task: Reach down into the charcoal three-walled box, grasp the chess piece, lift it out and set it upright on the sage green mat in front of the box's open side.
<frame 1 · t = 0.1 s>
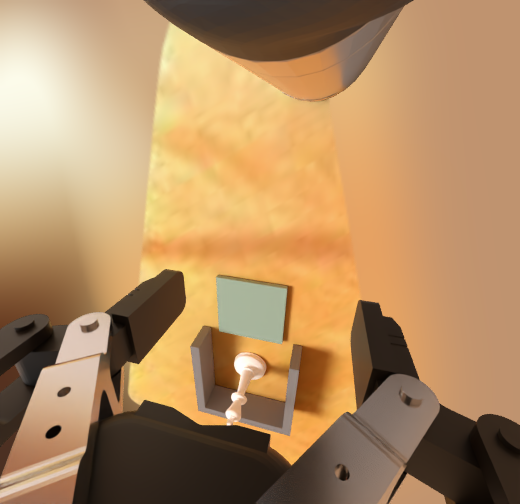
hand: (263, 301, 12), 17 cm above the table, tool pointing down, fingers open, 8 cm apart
mat: (251, 309, 35), on the table
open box: (250, 366, 40), on the table
chess piece: (250, 363, 40), on the table
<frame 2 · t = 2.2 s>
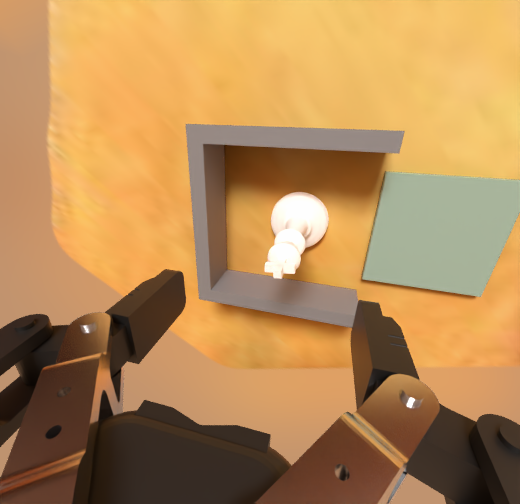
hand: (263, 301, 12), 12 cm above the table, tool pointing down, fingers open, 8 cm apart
mat: (433, 234, 21), on the table
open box: (293, 219, 23), on the table
chess piece: (299, 219, 23), on the table
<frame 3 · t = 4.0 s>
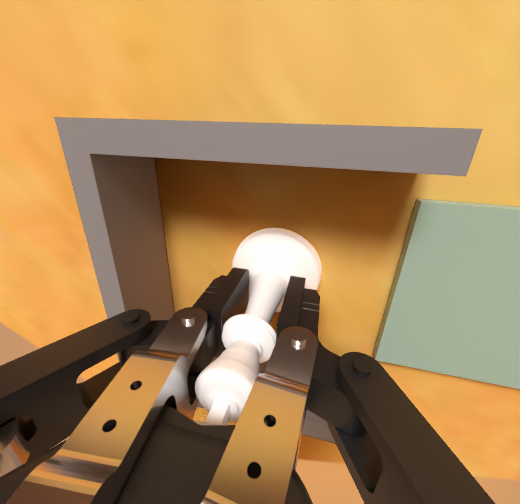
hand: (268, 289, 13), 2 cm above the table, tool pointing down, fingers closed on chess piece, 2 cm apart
mat: (493, 300, 12), on the table
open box: (267, 268, 15), on the table
chess piece: (277, 267, 15), on the table, touching gripper
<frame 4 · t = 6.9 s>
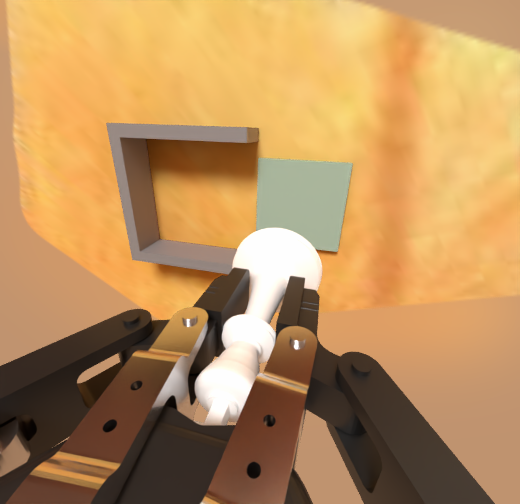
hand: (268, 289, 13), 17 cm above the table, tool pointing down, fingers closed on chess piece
mat: (299, 205, 28), on the table
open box: (202, 196, 30), on the table
chess piece: (277, 267, 15), point 14 cm above the table, touching gripper
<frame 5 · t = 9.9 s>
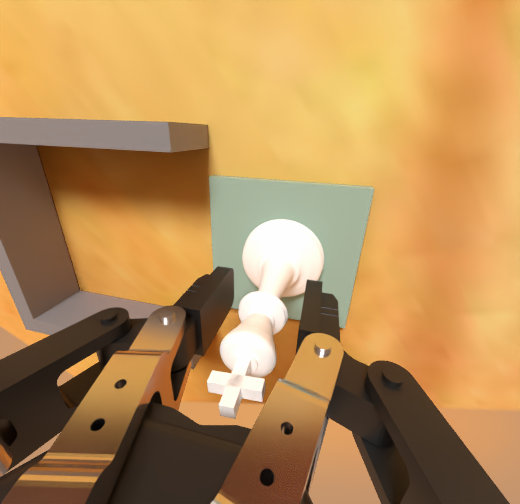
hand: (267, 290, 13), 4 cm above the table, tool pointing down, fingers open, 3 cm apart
mat: (282, 253, 17), on the table
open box: (131, 233, 19), on the table
chess piece: (283, 256, 16), resting on mat
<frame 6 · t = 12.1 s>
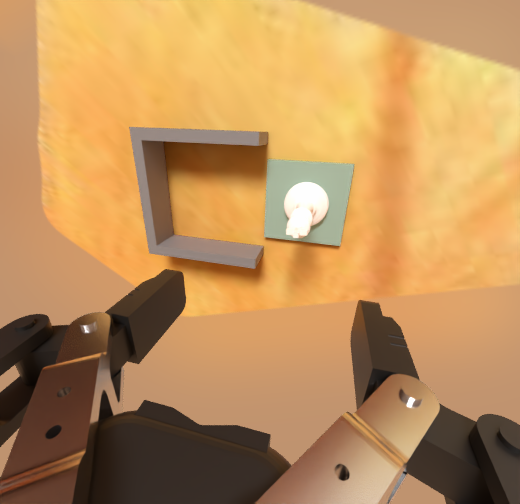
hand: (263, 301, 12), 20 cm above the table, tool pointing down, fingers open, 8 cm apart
mat: (305, 202, 30), on the table
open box: (215, 194, 32), on the table
chess piece: (306, 204, 29), resting on mat
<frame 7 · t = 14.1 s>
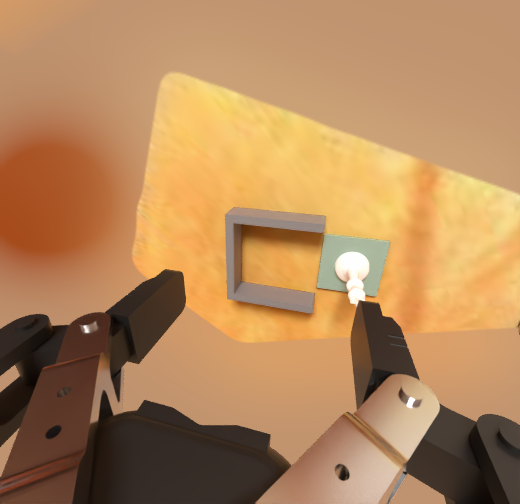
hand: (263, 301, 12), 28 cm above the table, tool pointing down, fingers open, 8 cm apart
mat: (350, 264, 40), on the table
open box: (279, 255, 42), on the table
chess piece: (351, 266, 39), resting on mat
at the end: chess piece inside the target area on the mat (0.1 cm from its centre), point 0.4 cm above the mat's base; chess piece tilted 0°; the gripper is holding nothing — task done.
